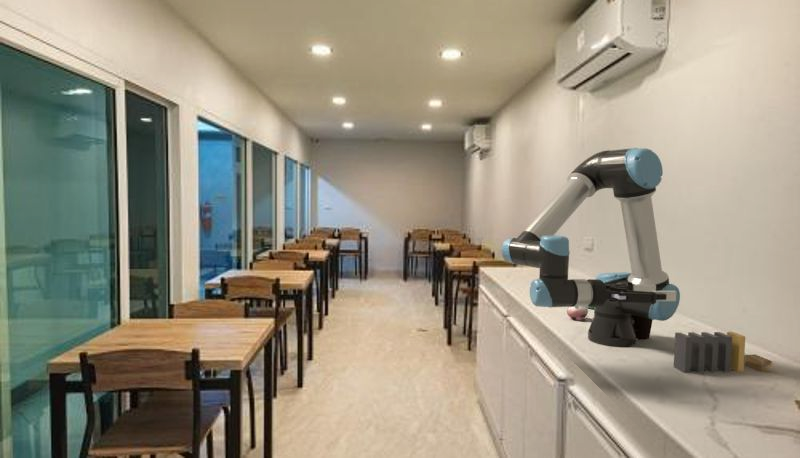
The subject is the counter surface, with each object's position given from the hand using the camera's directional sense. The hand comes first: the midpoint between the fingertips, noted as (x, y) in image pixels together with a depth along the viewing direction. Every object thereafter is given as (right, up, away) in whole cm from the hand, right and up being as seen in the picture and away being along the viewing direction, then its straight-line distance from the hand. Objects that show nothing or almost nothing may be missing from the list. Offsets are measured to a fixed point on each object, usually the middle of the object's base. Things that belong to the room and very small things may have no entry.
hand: (664, 292), depth 146 cm
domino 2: (+10, -22, +2) cm, 24 cm away
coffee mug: (+10, -20, +37) cm, 43 cm away
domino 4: (+18, -22, +3) cm, 29 cm away
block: (+29, -22, +4) cm, 37 cm away
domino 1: (+6, -22, +2) cm, 23 cm away
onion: (-4, -18, +61) cm, 64 cm away
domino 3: (+14, -22, +3) cm, 26 cm away
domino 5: (+22, -22, +4) cm, 31 cm away
